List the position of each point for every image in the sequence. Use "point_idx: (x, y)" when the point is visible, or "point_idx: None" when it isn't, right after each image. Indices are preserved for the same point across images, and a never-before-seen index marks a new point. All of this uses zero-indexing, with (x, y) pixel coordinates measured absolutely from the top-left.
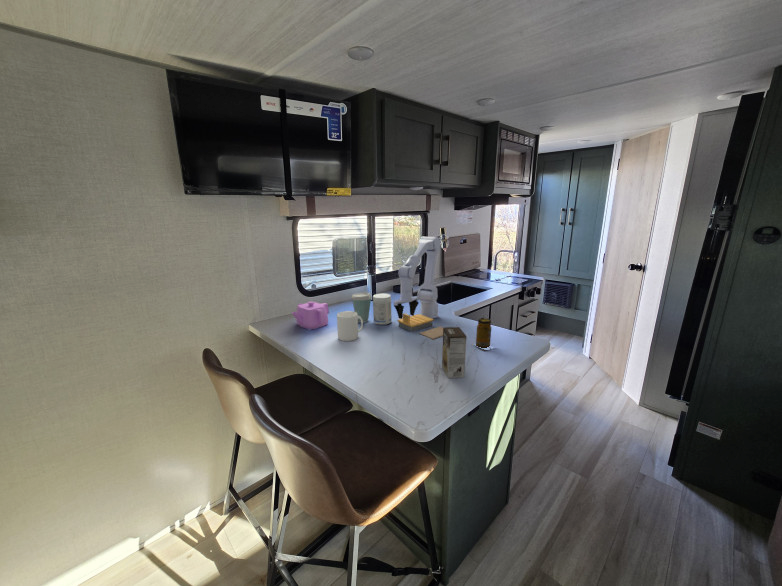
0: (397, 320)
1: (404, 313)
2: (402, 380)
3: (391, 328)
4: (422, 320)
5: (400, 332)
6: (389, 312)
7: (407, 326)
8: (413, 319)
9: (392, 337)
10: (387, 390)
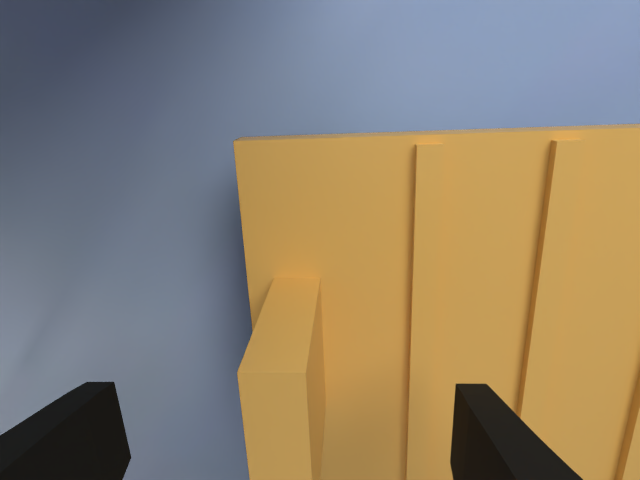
0: (236, 143)
1: (292, 379)
2: None
3: (126, 153)
4: (588, 445)
5: (162, 345)
6: None
7: None
8: (508, 322)
9: (2, 400)
10: None
